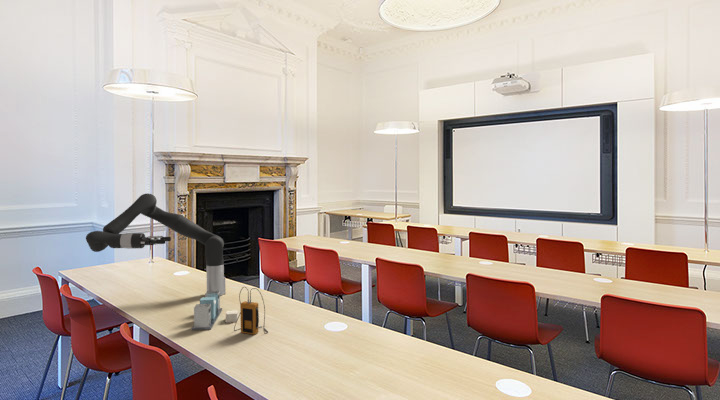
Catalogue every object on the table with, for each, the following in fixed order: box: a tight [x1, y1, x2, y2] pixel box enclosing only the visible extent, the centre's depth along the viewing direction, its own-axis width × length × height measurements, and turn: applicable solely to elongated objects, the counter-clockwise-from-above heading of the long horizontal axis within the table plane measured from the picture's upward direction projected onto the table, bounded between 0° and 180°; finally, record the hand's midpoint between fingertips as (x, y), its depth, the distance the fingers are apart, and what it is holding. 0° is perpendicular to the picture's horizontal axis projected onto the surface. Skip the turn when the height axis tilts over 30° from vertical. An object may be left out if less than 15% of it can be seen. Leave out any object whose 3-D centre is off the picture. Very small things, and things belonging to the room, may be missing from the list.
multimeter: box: [233, 286, 269, 336], centre depth 171 cm, size 15×10×20 cm
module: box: [199, 296, 216, 319], centre depth 183 cm, size 4×6×9 cm
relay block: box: [225, 309, 239, 323], centre depth 183 cm, size 5×5×4 cm
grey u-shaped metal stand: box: [191, 290, 223, 332], centre depth 183 cm, size 26×8×10 cm, turn 9°
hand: (167, 240), depth 196 cm, fingers open, 8 cm apart
